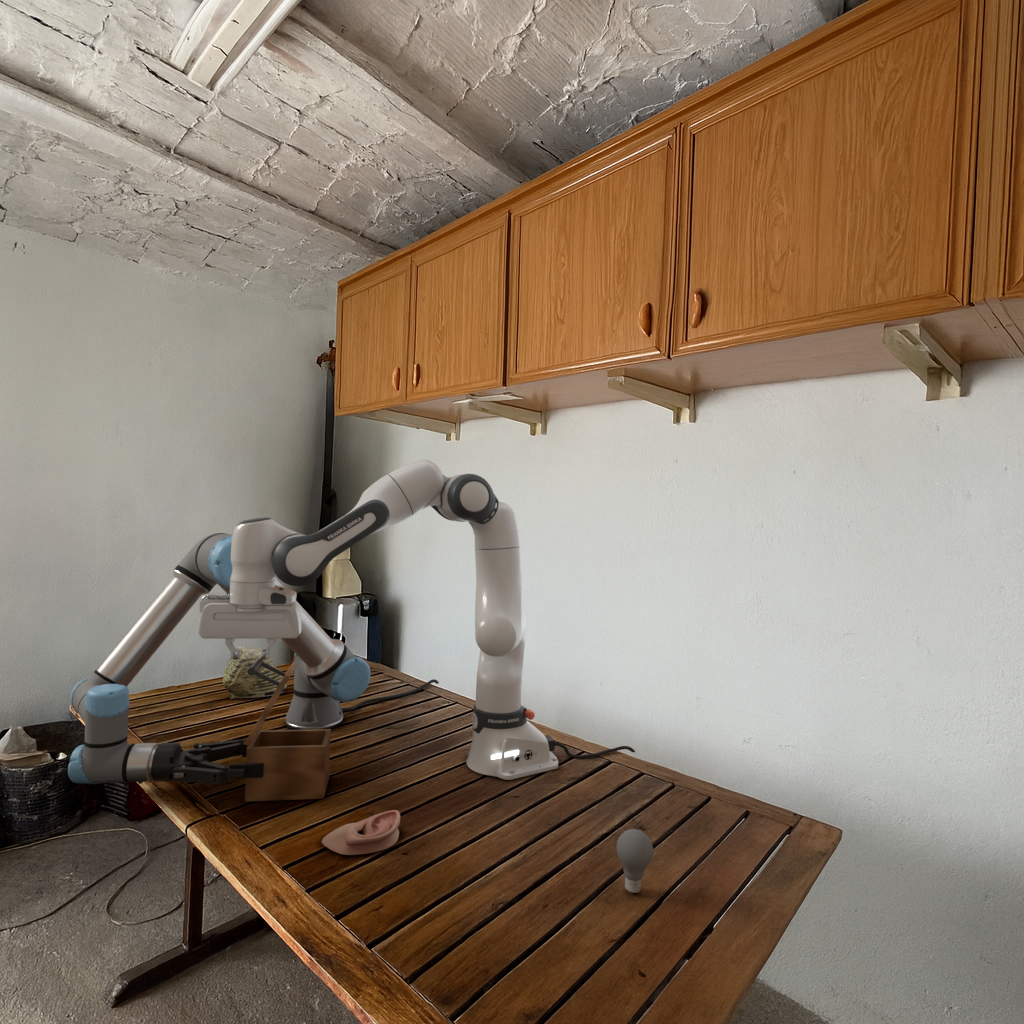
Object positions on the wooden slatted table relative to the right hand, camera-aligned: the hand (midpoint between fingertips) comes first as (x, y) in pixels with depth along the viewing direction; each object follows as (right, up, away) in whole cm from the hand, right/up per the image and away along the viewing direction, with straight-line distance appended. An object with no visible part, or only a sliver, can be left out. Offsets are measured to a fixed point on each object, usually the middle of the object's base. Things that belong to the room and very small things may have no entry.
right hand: (250, 658), depth 135 cm
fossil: (-25, -26, +63) cm, 73 cm away
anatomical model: (+28, -30, -17) cm, 44 cm away
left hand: (+3, -22, +1) cm, 22 cm away
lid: (+5, -10, +1) cm, 11 cm away
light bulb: (+76, -32, -29) cm, 87 cm away
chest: (+7, -29, +2) cm, 30 cm away
